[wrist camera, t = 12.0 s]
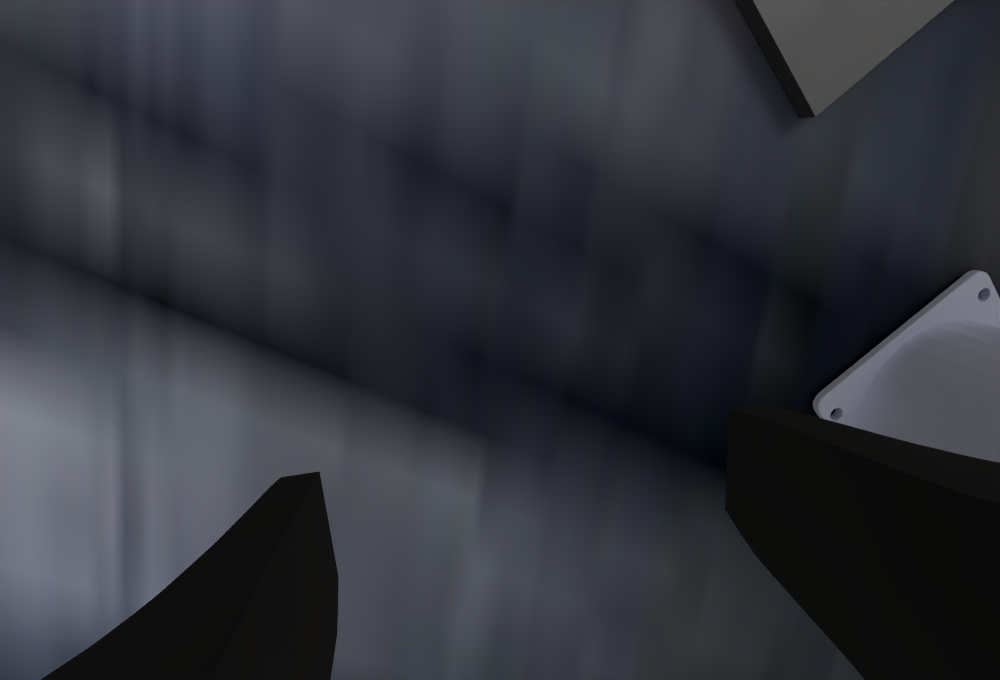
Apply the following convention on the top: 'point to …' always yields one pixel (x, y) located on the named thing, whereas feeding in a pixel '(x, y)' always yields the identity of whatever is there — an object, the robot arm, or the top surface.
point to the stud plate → (831, 41)
